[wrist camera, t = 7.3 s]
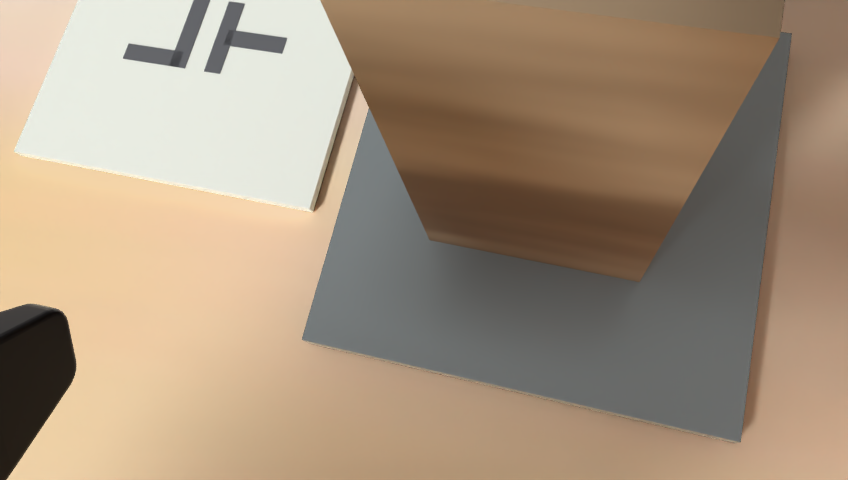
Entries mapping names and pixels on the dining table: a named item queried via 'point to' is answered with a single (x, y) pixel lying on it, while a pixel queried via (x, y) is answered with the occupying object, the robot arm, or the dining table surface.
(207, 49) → the tile
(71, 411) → the dining table surface
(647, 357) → the coaster
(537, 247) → the block
